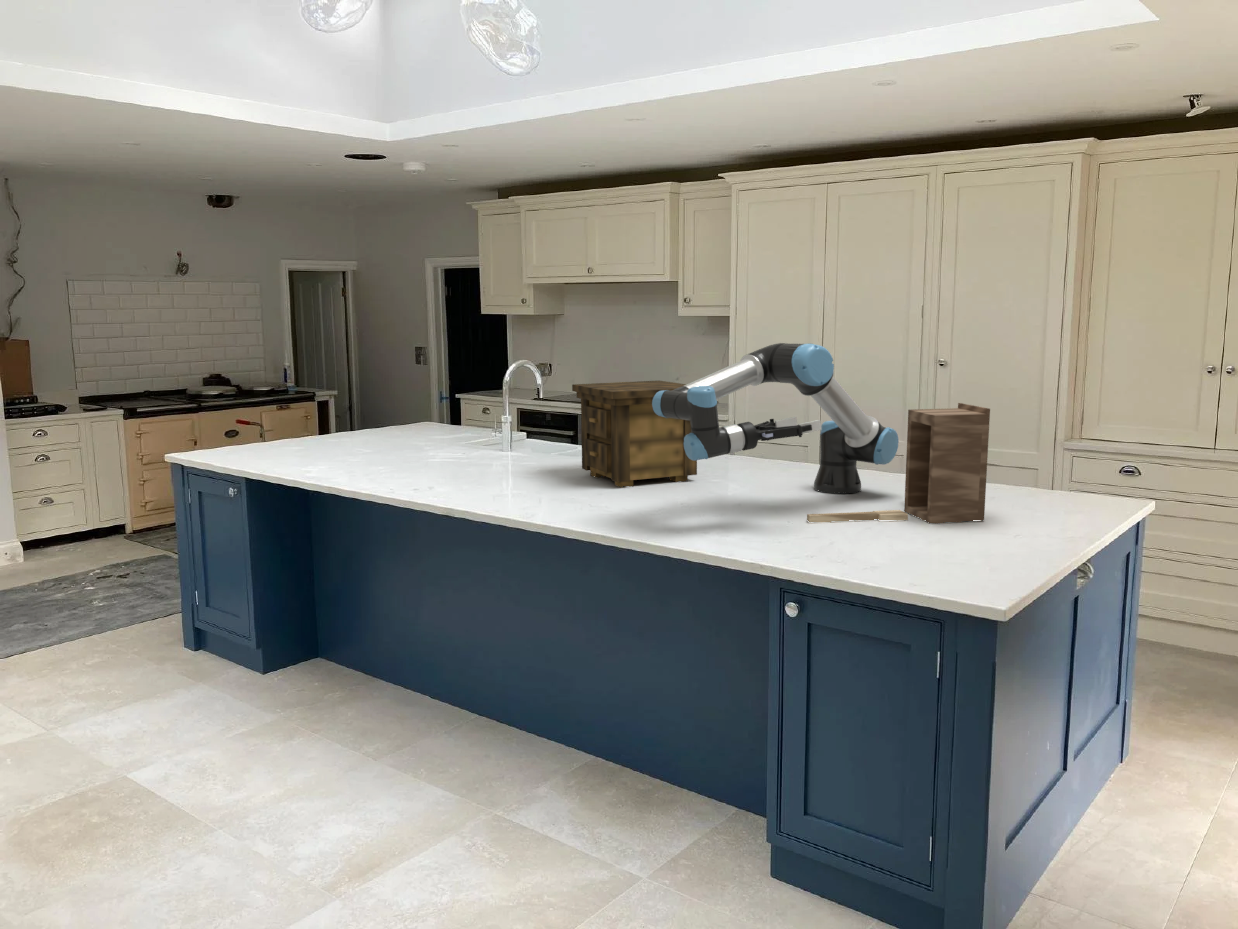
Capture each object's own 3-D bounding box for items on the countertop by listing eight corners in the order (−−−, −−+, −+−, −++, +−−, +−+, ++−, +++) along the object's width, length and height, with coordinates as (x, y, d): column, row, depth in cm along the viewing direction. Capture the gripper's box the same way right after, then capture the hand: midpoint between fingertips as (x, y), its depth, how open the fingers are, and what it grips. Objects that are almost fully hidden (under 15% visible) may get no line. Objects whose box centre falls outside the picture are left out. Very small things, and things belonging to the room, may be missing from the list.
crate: (706, 481, 330) (706, 387, 325) (613, 490, 316) (612, 391, 310) (659, 467, 362) (659, 380, 356) (573, 474, 347) (572, 384, 342)
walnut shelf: (904, 511, 280) (908, 404, 275) (955, 509, 283) (960, 402, 277) (930, 523, 264) (935, 410, 259) (984, 521, 267) (990, 408, 262)
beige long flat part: (804, 520, 270) (805, 512, 270) (899, 516, 274) (899, 509, 274) (811, 524, 265) (811, 517, 264) (907, 520, 269) (908, 513, 268)
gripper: (722, 446, 274) (788, 432, 280) (761, 455, 250) (832, 440, 256) (719, 420, 273) (785, 407, 279) (757, 427, 249) (829, 412, 255)
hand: (808, 422), depth 268 cm, fingers open, 13 cm apart
